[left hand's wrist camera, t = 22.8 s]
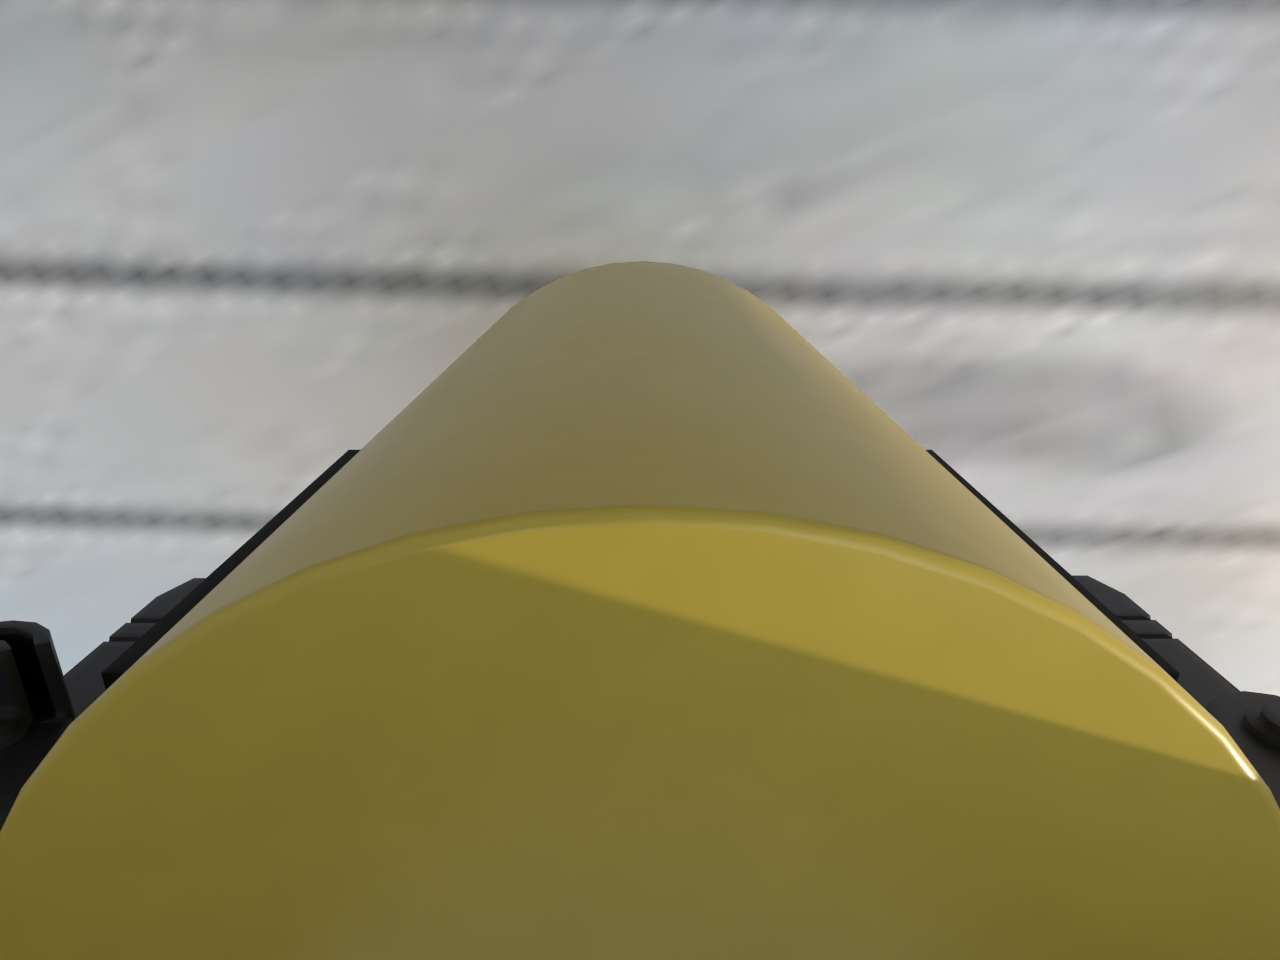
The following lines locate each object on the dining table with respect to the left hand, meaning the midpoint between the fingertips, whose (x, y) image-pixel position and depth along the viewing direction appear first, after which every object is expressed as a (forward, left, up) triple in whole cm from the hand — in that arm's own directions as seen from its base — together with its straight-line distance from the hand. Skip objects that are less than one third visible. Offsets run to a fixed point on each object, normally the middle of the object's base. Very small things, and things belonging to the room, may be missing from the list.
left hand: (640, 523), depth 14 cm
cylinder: (0, 0, -3) cm, 3 cm away
